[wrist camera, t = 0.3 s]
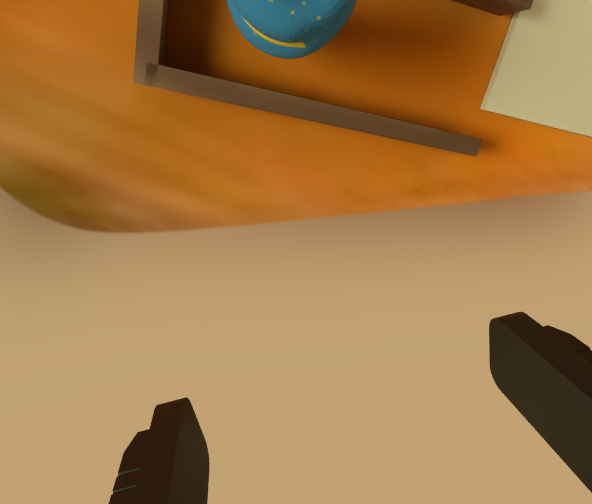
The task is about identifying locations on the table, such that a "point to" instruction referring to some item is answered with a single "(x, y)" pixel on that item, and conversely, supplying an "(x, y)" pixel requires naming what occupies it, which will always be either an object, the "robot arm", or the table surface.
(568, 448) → the robot arm
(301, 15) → the ornament
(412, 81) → the table surface
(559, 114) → the pad
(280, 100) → the lane rack
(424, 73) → the table surface
